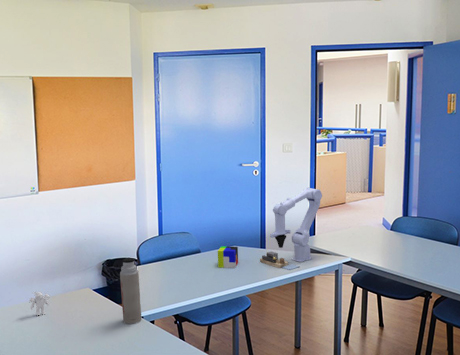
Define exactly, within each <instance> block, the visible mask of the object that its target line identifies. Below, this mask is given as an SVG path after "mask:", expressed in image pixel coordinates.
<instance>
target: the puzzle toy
mask: <svg viewBox="0 0 460 355" xmlns="http://www.w3.org/2000/svg"><path fill="white" fill-rule="evenodd" d="M238 249H239V247H238V246H226V245H225V246H223V245H222V246H220V247H219V249H218V250H217V267H218V268H221V269H222V268H223V269H224V268H226V269H235V268H236V267H237V265H238V264H239V252H238V251H239V250H238Z"/></svg>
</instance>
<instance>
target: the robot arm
mask: <svg viewBox="0 0 460 355" xmlns="http://www.w3.org/2000/svg"><path fill="white" fill-rule="evenodd" d="M322 197H323V193H322V190H320V189H318V188H317V189H316V188H311V187H306V188H305V189H303V190H302V192H300V193H298V194H297V195H295V196H294V197H293V198H292V197H287V198H286V199H285V200H284V201H281V202H280V203H277V204H275V205H274V206H273V208H272V212H273V213H274V221H275V222H274V227H275V228H274V229H275V231H274V232H271V233H270V234H269V237H270V238H272V239H273V238H275V240H276V243H277V245H278V248H280V249H282V248H283V247H284V243H285V241H286V239H287V235H288V234H291V233H292V232H291V229H286V215H287V214H286V213H287V212H288V211H290V210H291V209H293V208H294V207H295V206H296V204H297V203H299V202H301V201H303V200H305V199H306V200H307V201H308V203H309V206H308V208H307V210H306V212H305V215H304V218H303V220H302V222H301V224H300V227H299V228H298V229H296V230H295V232H294V233H293V234H292V236H291V242H292V243H293V249H294V250H293V251H294V252H293V254H294V255H293V256H294V257H292V258H291V260H293V261H297V262H299V263H301V262H306V261H309V260H311V259H312V257H311V246H310V245H309V242H310V241H309V239H310V234H309V231H310V229H311V226H312V225H313V222H314V220H315V218H316V215H317V213H318V210H319V209H320V205H321V199H322Z"/></svg>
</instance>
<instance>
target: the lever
mask: <svg viewBox="0 0 460 355" xmlns="http://www.w3.org/2000/svg"><path fill="white" fill-rule="evenodd" d="M261 258H262V259H264V260H267V261H270V262H274V263H275V262H276V257H273V258H271V257H267V255H265V254H264V255H262V256H261Z"/></svg>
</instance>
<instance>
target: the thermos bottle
mask: <svg viewBox="0 0 460 355" xmlns="http://www.w3.org/2000/svg"><path fill="white" fill-rule="evenodd" d="M137 267H138V266H137V265H135V258H134V257H133V258H132V257H126V258H123V259H122V266H121V267H120V268H121V269H120V270H121V271H120V272H119V279H120V292H121V306H122V320H123V323H124V324H128V325H132V324H138V323H139V322H141V321H142V306H141V292H140V278H139V275H140V274H139V273H140V272H139V270H138V268H137Z"/></svg>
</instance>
